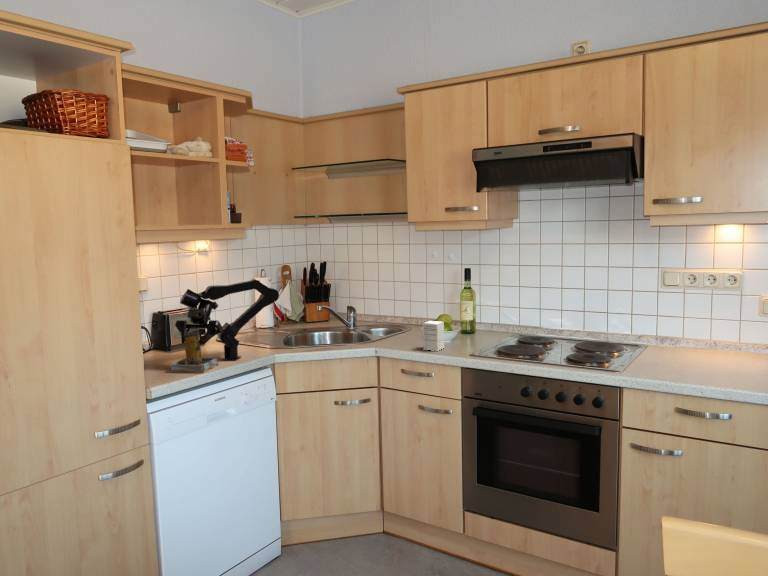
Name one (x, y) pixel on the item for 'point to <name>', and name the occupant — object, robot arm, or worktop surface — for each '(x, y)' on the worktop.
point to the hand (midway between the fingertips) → (193, 343)
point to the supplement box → (433, 335)
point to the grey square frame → (194, 366)
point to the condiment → (193, 349)
